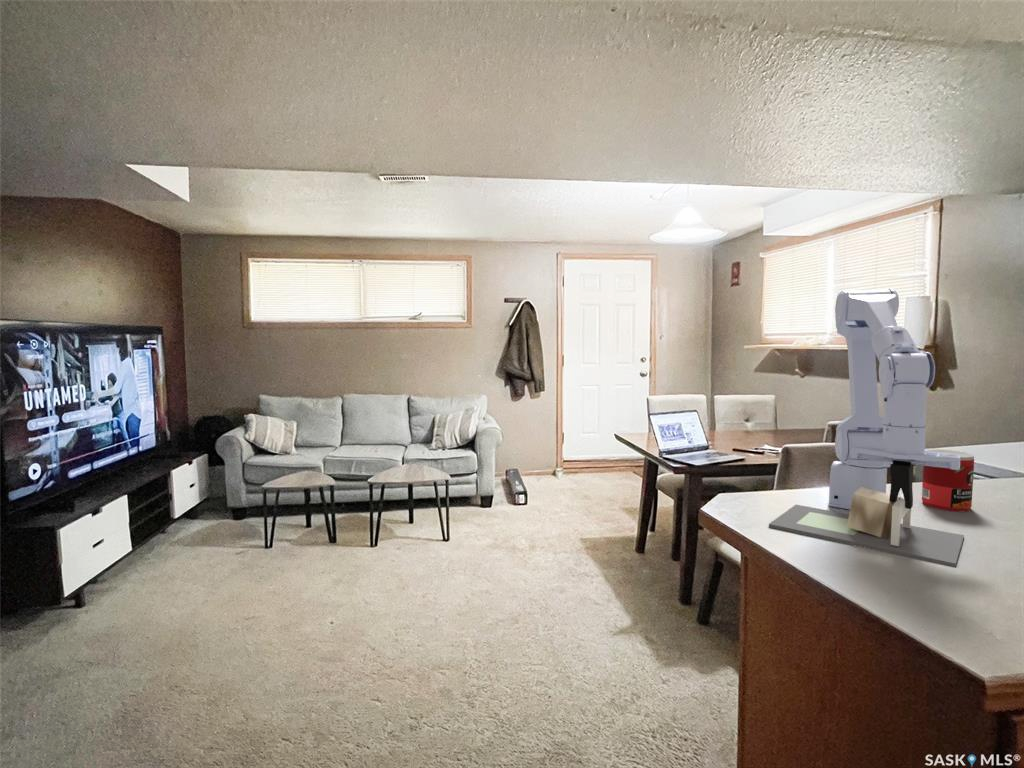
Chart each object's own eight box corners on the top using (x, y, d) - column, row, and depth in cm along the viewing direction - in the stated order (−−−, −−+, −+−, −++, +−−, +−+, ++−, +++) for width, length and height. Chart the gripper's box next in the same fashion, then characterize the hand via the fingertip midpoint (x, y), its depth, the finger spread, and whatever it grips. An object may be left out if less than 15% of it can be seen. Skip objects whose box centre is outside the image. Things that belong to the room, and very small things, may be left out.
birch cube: (887, 539, 88) (846, 526, 92) (894, 530, 92) (854, 518, 96) (895, 505, 87) (853, 493, 91) (901, 498, 91) (861, 486, 95)
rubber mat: (768, 527, 96) (768, 523, 96) (795, 507, 108) (795, 504, 108) (955, 567, 78) (955, 563, 78) (963, 538, 90) (963, 535, 90)
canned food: (960, 515, 102) (963, 458, 101) (913, 504, 109) (915, 451, 108) (979, 509, 106) (982, 454, 105) (932, 499, 113) (935, 448, 112)
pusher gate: (890, 544, 85) (892, 506, 84) (903, 524, 94) (905, 489, 94) (898, 546, 84) (900, 507, 84) (910, 525, 93) (912, 490, 93)
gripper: (847, 424, 90) (845, 502, 91) (958, 432, 80) (955, 520, 81) (856, 420, 95) (854, 495, 96) (962, 427, 85) (959, 510, 86)
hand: (901, 506), depth 89 cm, fingers closed
